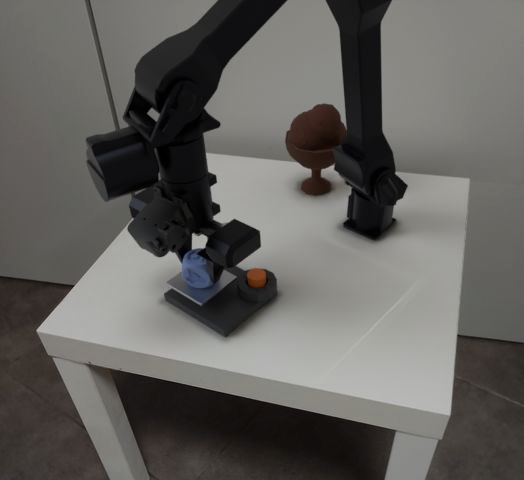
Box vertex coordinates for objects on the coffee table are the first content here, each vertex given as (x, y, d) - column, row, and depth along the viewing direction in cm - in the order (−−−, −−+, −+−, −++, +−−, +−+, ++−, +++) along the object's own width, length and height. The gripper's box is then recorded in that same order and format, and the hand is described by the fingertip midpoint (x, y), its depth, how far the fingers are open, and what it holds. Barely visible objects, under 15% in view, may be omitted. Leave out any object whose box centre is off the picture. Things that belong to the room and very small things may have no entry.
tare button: (269, 281, 77) (269, 273, 75) (257, 291, 75) (257, 282, 74) (256, 274, 78) (255, 265, 77) (244, 283, 77) (243, 275, 75)
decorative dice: (211, 290, 75) (208, 267, 72) (184, 287, 75) (179, 264, 72) (219, 271, 77) (216, 249, 74) (192, 269, 78) (188, 246, 75)
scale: (284, 294, 79) (284, 278, 76) (229, 340, 73) (227, 324, 71) (221, 260, 85) (219, 244, 82) (165, 300, 79) (161, 285, 77)
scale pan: (237, 278, 77) (237, 276, 76) (201, 306, 73) (201, 304, 73) (201, 259, 80) (201, 257, 80) (165, 284, 77) (165, 282, 76)
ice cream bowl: (345, 171, 101) (351, 88, 90) (345, 205, 93) (352, 119, 82) (288, 170, 102) (287, 88, 91) (284, 203, 94) (282, 118, 83)
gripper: (81, 176, 65) (113, 277, 76) (190, 232, 56) (208, 336, 67) (151, 139, 70) (171, 238, 82) (260, 185, 61) (266, 289, 73)
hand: (201, 273), depth 76 cm, fingers closed on decorative dice, 5 cm apart
